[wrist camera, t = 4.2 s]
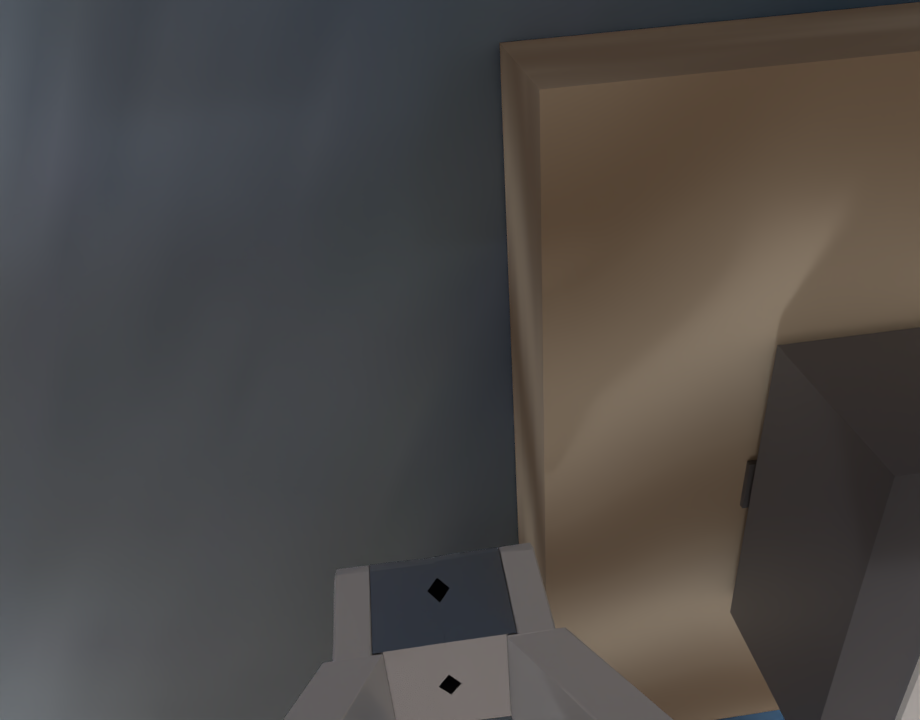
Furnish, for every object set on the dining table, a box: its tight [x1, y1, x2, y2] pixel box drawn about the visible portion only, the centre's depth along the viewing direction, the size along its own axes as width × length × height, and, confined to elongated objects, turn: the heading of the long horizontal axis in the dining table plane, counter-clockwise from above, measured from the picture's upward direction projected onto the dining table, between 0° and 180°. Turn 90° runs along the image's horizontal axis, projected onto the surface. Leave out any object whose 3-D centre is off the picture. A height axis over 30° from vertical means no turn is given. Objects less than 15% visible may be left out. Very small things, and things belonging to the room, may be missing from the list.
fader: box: [730, 327, 920, 720], centre depth 12 cm, size 6×3×3 cm, turn 4°
